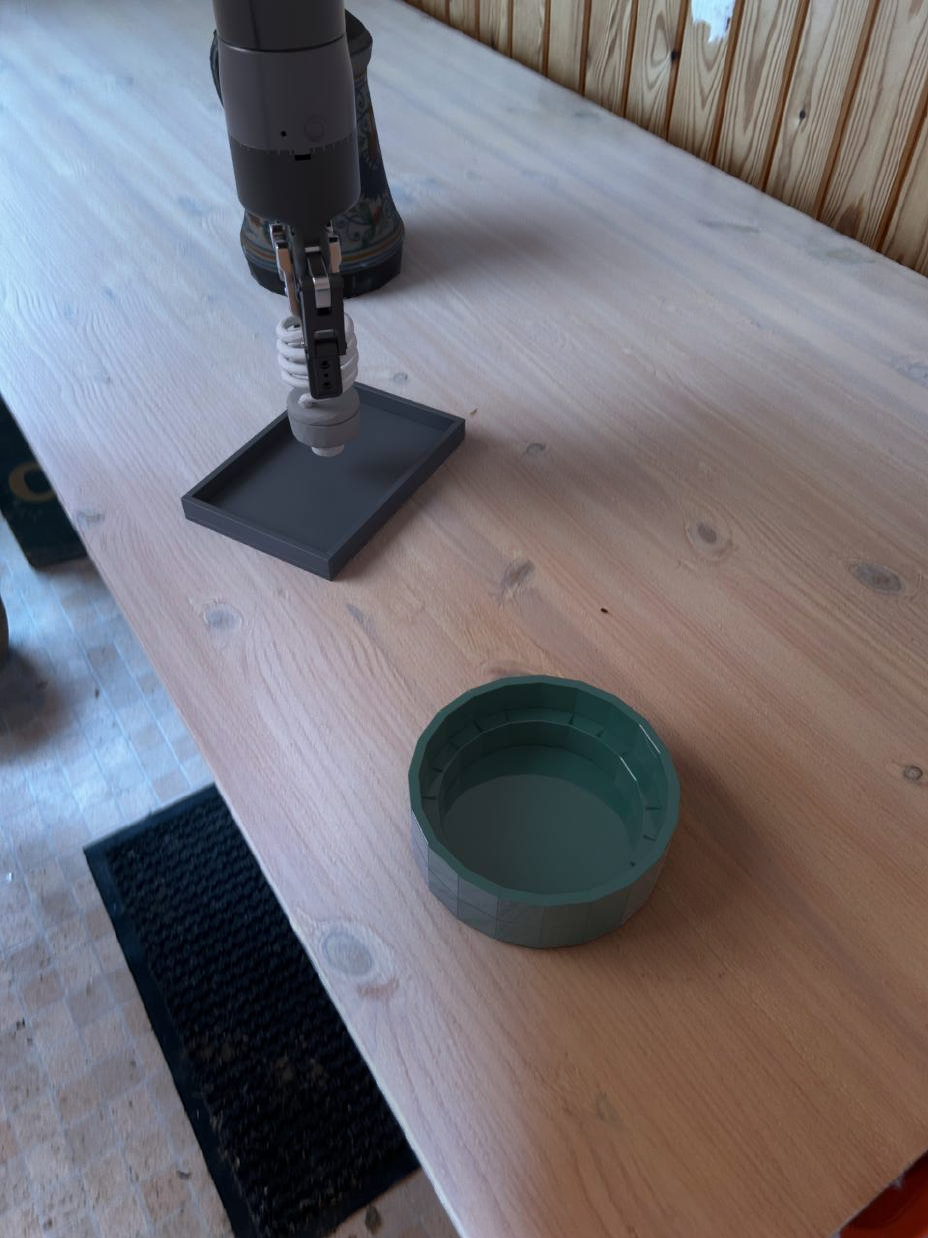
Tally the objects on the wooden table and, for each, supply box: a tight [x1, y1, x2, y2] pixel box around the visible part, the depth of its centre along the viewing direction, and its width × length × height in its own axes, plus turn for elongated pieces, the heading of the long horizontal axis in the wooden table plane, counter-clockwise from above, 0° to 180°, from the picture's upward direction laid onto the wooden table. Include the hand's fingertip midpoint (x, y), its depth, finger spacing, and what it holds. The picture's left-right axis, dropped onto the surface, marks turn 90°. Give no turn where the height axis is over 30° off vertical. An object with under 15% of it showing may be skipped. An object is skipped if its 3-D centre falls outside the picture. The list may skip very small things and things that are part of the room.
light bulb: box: [275, 311, 360, 458], centre depth 69 cm, size 6×6×12 cm
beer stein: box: [209, 8, 406, 300], centre depth 90 cm, size 16×19×25 cm
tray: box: [180, 380, 466, 582], centre depth 75 cm, size 19×13×2 cm
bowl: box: [407, 674, 681, 949], centre depth 53 cm, size 14×14×5 cm
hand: (319, 370), depth 68 cm, fingers closed on light bulb, 5 cm apart
